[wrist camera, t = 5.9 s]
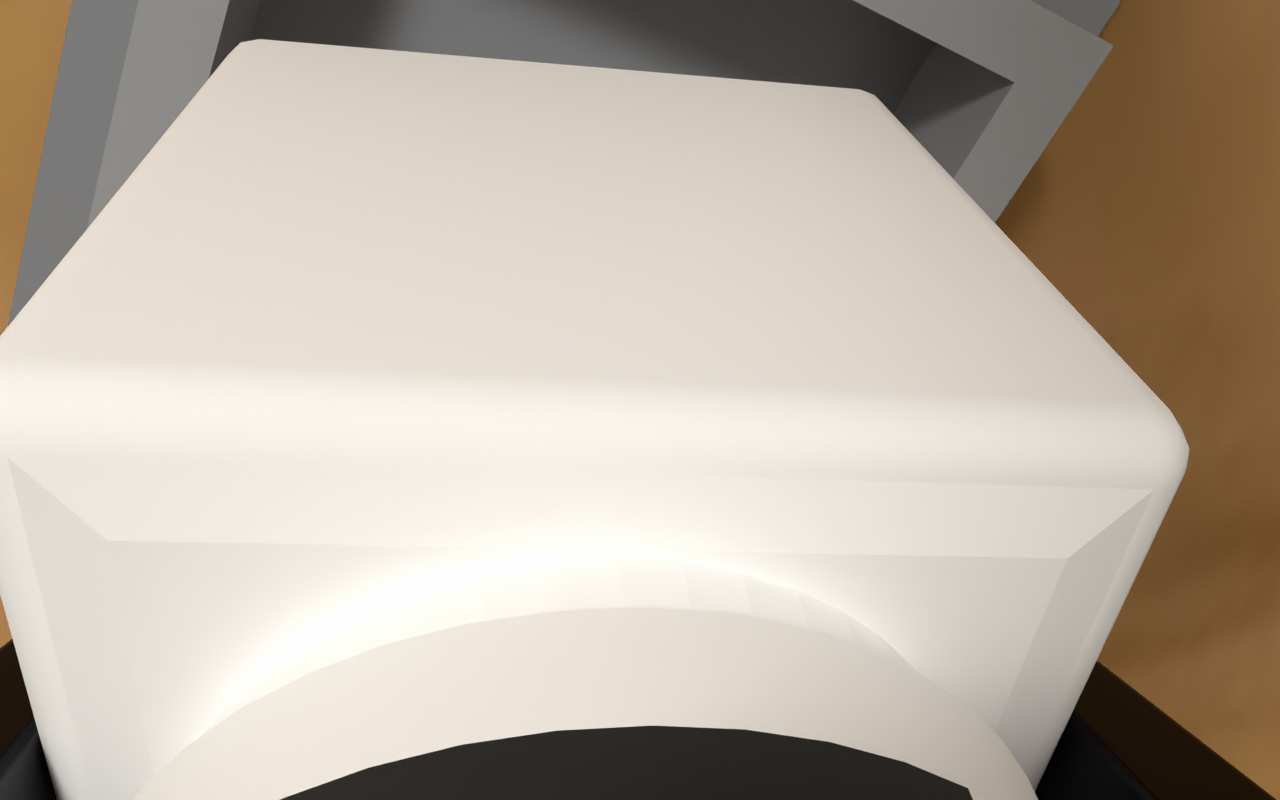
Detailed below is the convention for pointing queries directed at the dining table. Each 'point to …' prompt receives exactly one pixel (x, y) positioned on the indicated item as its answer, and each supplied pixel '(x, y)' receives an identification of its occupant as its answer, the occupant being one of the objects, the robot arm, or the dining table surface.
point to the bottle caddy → (582, 36)
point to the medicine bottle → (558, 451)
